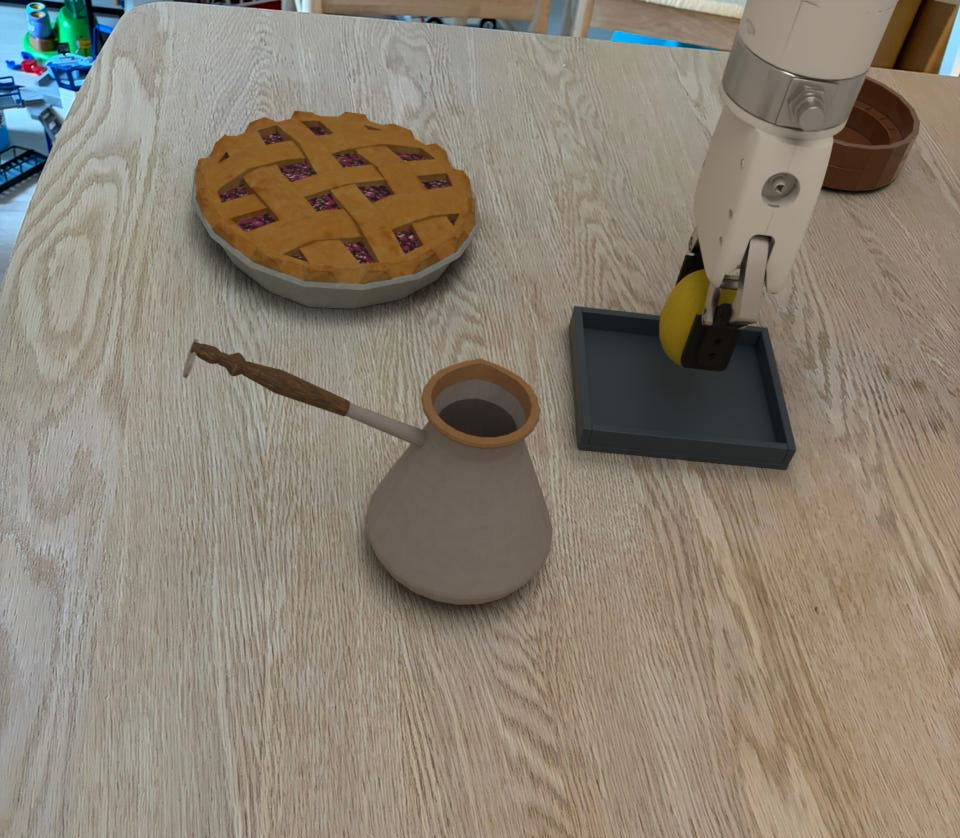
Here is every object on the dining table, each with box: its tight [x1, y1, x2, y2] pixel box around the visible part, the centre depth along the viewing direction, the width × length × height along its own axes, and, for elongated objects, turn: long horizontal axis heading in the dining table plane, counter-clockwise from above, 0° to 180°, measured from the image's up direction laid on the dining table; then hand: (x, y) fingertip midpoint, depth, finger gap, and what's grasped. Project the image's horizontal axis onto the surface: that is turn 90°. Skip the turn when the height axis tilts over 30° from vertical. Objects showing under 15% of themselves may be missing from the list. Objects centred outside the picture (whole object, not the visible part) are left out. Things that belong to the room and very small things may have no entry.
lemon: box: [659, 269, 737, 369], centre depth 73 cm, size 6×6×8 cm
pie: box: [190, 110, 481, 310], centre depth 83 cm, size 22×22×5 cm
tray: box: [568, 305, 797, 471], centre depth 78 cm, size 15×13×2 cm
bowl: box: [822, 75, 921, 192], centre depth 100 cm, size 14×14×4 cm
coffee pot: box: [182, 338, 553, 606], centre depth 61 cm, size 21×12×15 cm, turn 91°
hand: (697, 334), depth 74 cm, fingers closed on lemon, 5 cm apart
